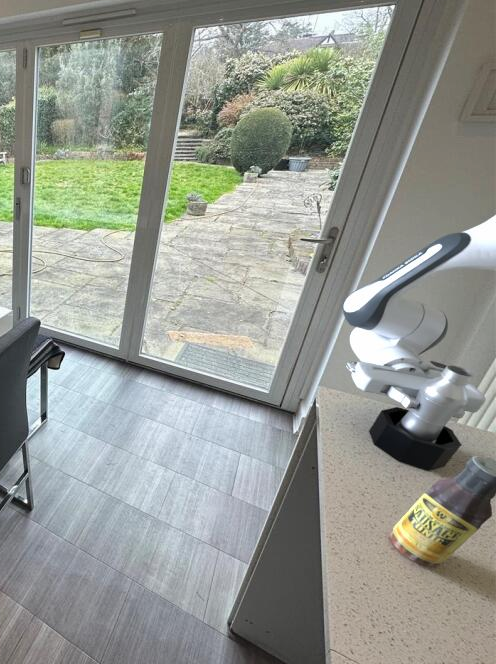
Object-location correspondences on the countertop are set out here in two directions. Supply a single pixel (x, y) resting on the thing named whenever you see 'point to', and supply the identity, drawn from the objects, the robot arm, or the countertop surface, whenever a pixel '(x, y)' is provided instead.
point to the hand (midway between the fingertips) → (435, 410)
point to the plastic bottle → (437, 403)
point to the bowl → (412, 442)
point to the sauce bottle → (447, 514)
